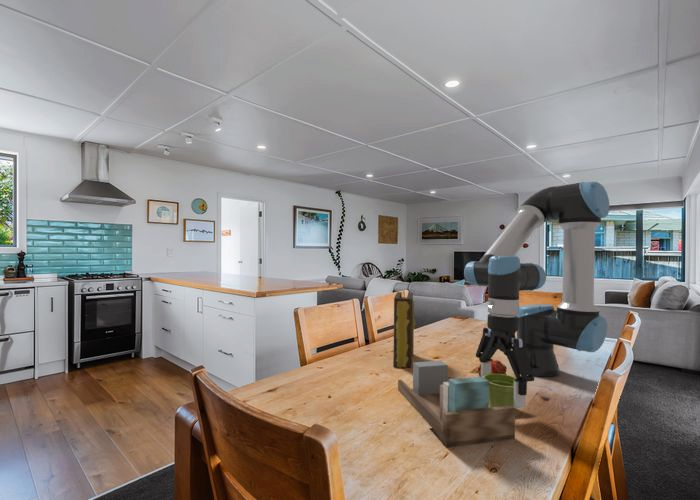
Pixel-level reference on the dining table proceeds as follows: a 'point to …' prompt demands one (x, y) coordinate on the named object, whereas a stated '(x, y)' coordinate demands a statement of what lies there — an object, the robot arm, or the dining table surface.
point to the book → (403, 330)
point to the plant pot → (500, 390)
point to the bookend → (429, 376)
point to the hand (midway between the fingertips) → (501, 395)
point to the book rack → (463, 412)
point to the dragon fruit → (495, 368)
